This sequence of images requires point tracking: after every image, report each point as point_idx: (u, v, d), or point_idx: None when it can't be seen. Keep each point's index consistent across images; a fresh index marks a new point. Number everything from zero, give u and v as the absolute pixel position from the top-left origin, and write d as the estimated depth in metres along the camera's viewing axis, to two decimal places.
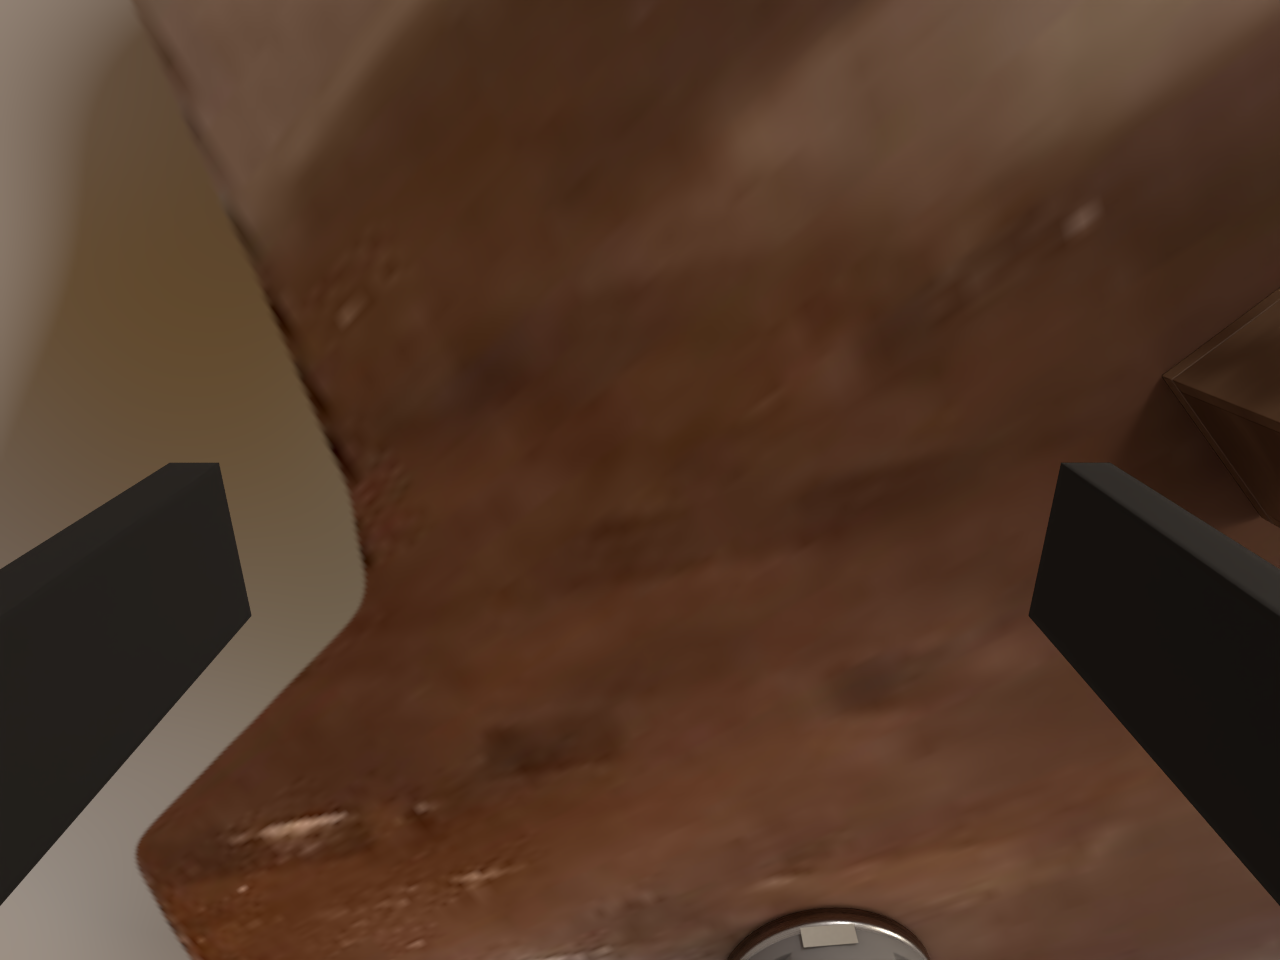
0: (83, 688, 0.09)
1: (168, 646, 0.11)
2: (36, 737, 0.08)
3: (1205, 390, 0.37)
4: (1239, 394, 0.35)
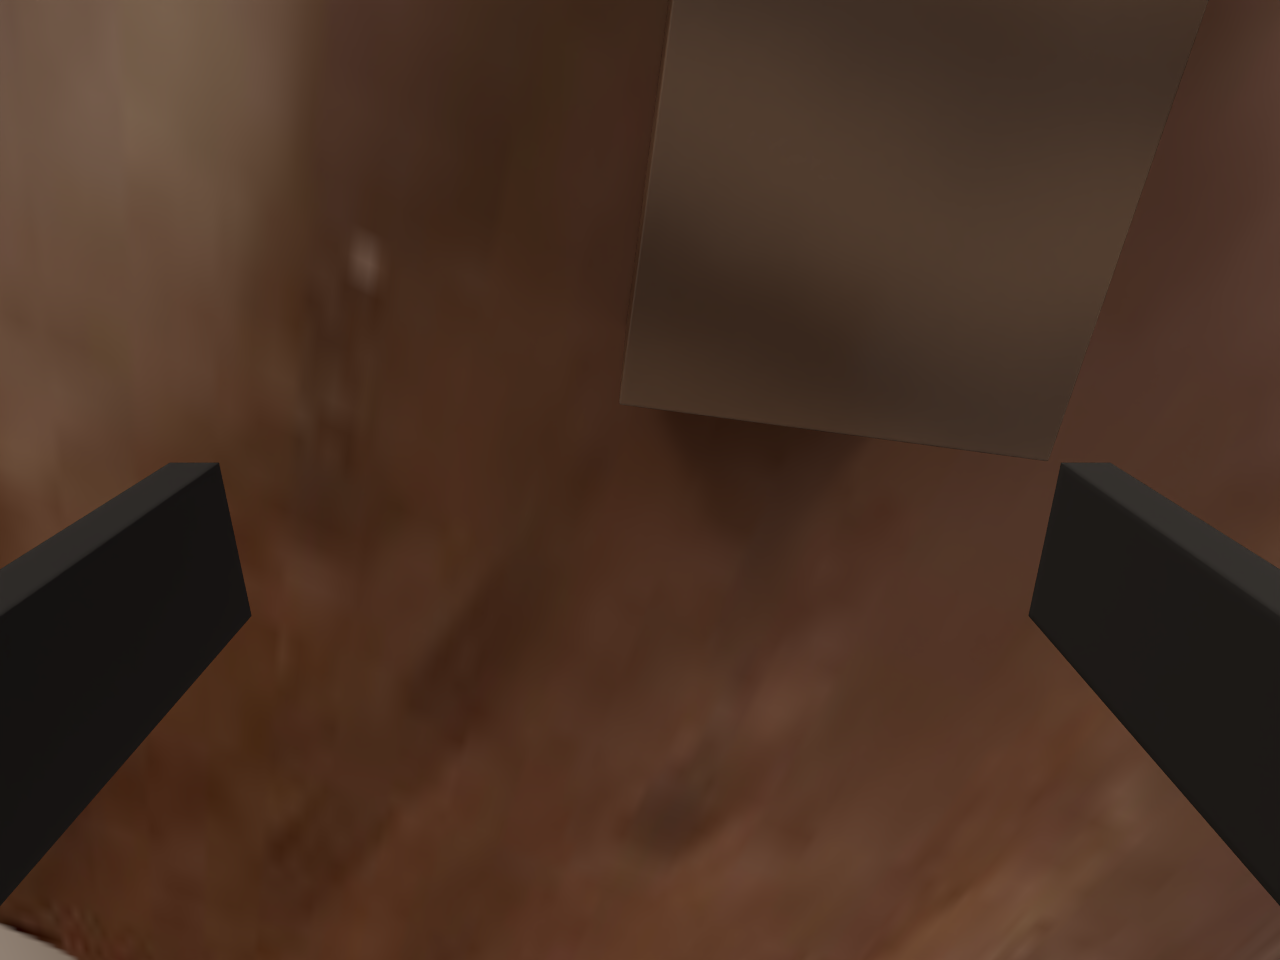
0: (83, 688, 0.09)
1: (168, 646, 0.11)
2: (35, 737, 0.08)
3: (624, 344, 0.25)
4: None
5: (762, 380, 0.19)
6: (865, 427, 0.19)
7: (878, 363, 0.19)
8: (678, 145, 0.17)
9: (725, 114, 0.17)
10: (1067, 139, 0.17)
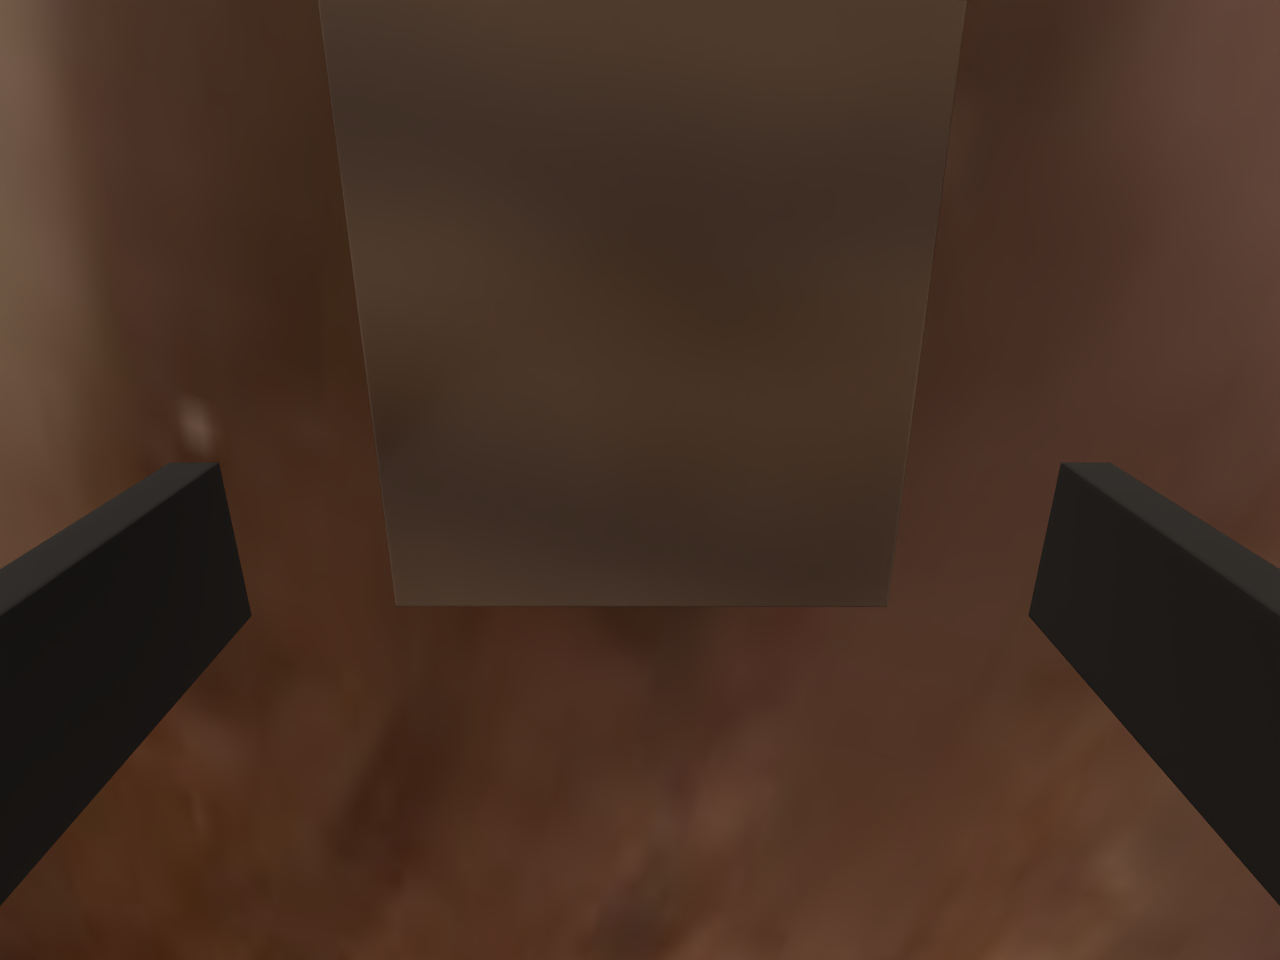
0: (83, 688, 0.09)
1: (168, 646, 0.11)
2: (36, 737, 0.08)
3: None
4: None
5: (545, 563, 0.17)
6: (672, 597, 0.17)
7: (669, 530, 0.17)
8: (388, 338, 0.15)
9: (431, 299, 0.15)
10: (824, 271, 0.15)
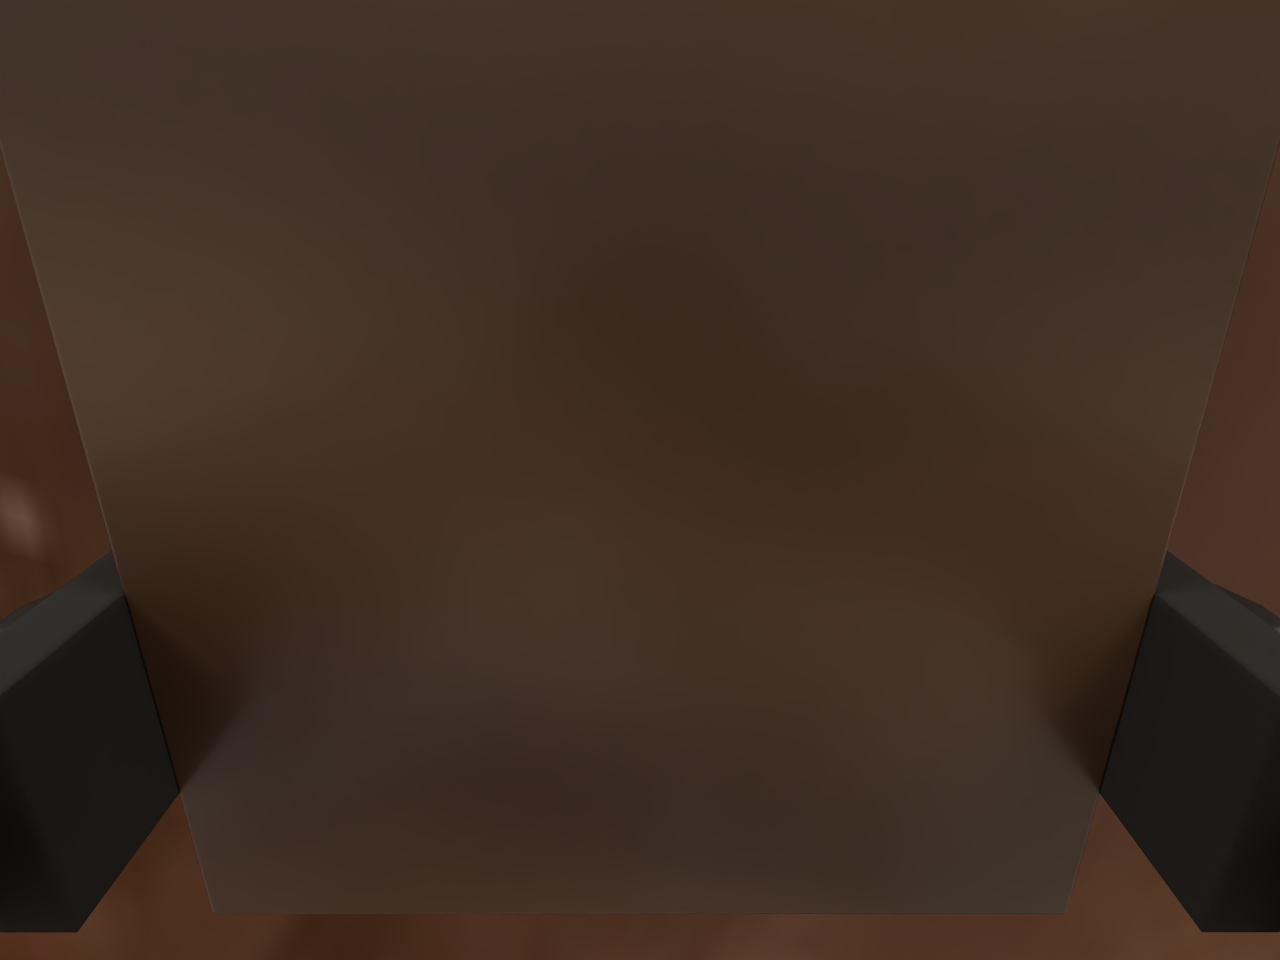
0: None
1: None
2: None
3: None
4: None
5: (469, 851, 0.10)
6: (692, 901, 0.10)
7: (689, 801, 0.09)
8: (145, 480, 0.08)
9: (222, 408, 0.08)
10: (1007, 354, 0.07)
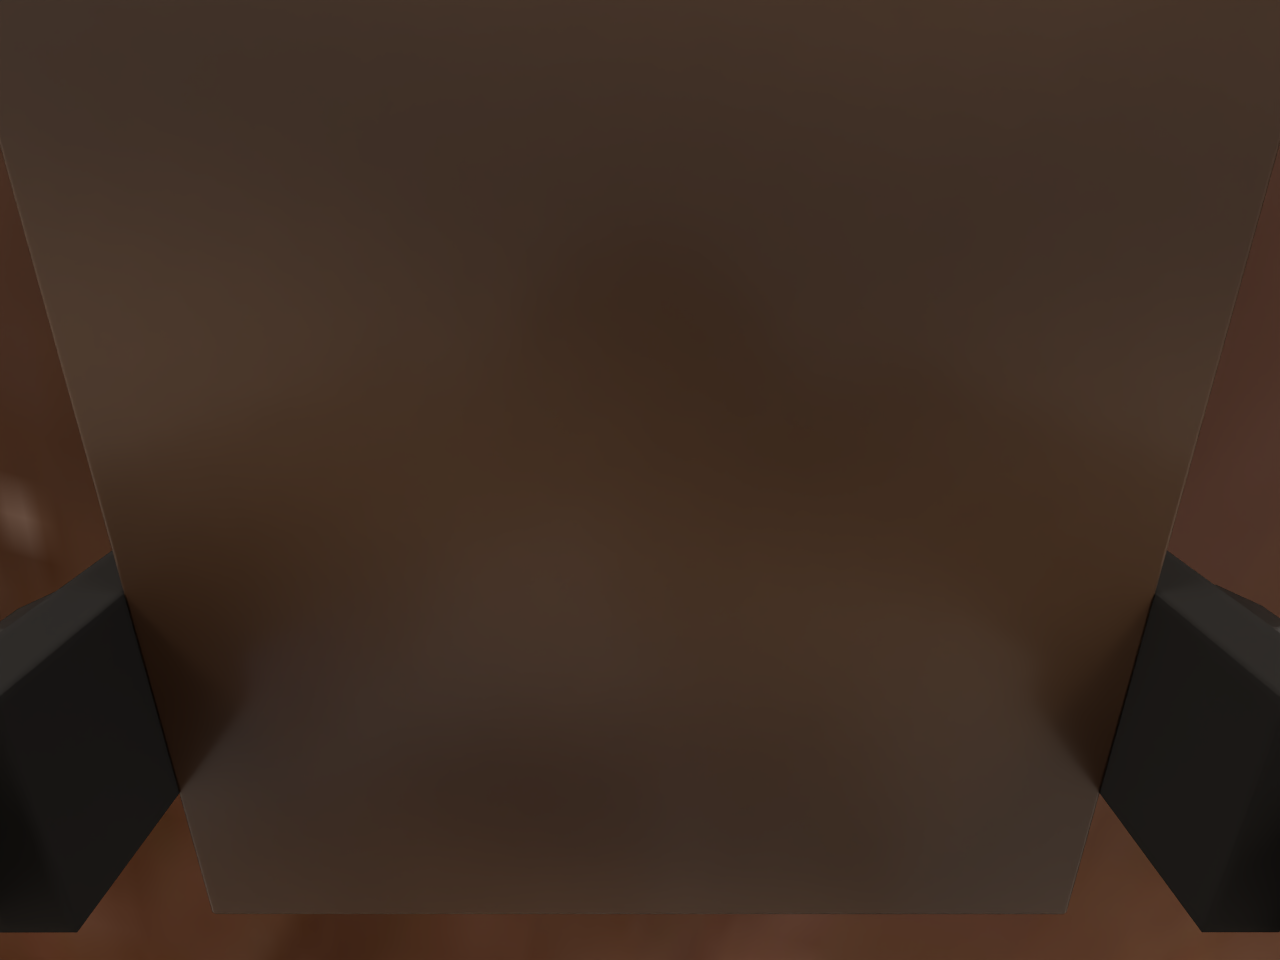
0: None
1: None
2: None
3: None
4: None
5: (469, 851, 0.10)
6: (692, 902, 0.10)
7: (689, 802, 0.09)
8: (145, 480, 0.08)
9: (222, 408, 0.08)
10: (1007, 355, 0.07)
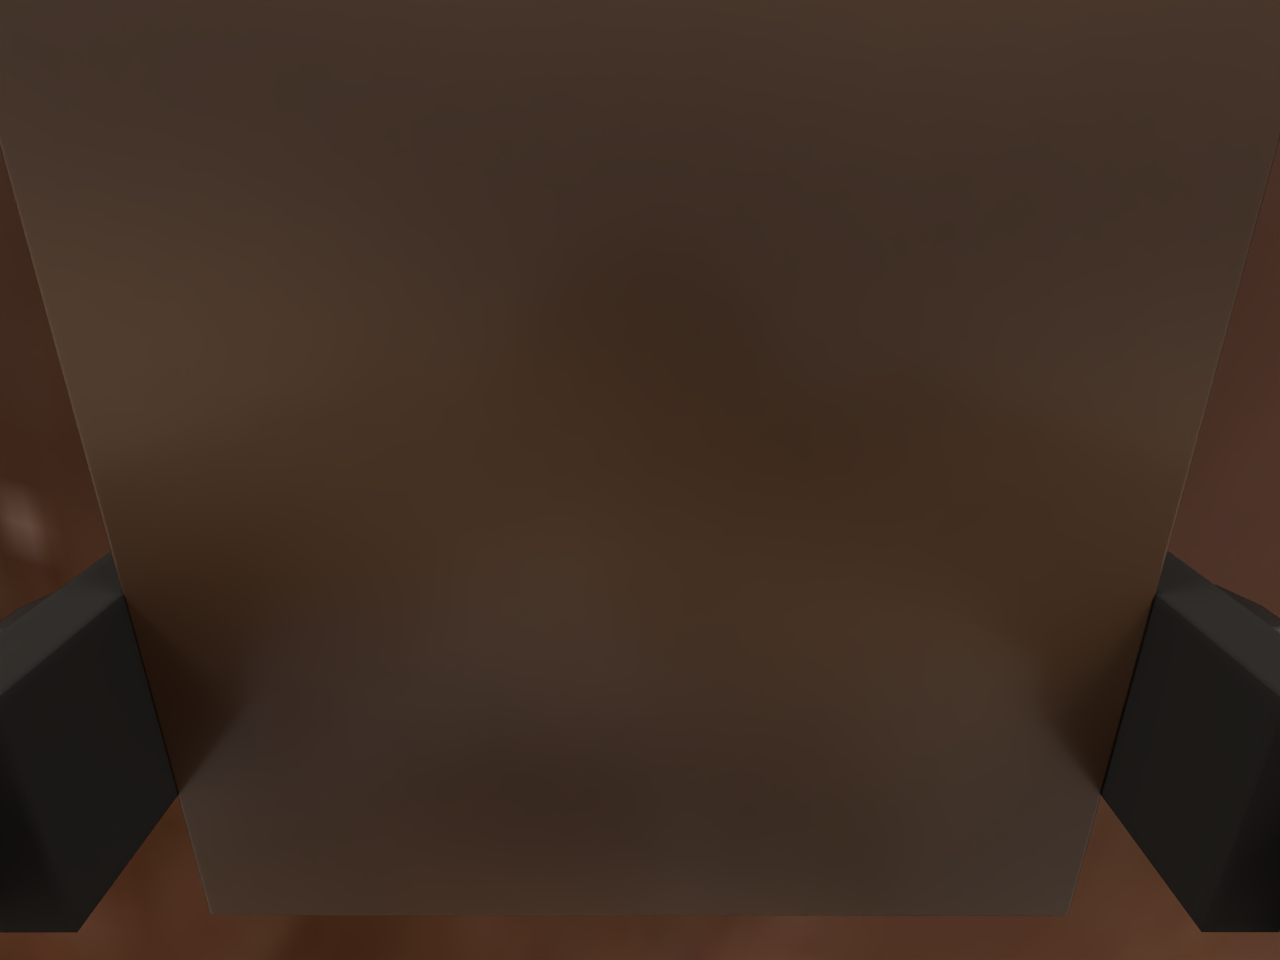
0: None
1: None
2: None
3: None
4: None
5: (467, 852, 0.10)
6: (692, 902, 0.10)
7: (689, 802, 0.09)
8: (143, 478, 0.08)
9: (221, 406, 0.08)
10: (1007, 352, 0.07)
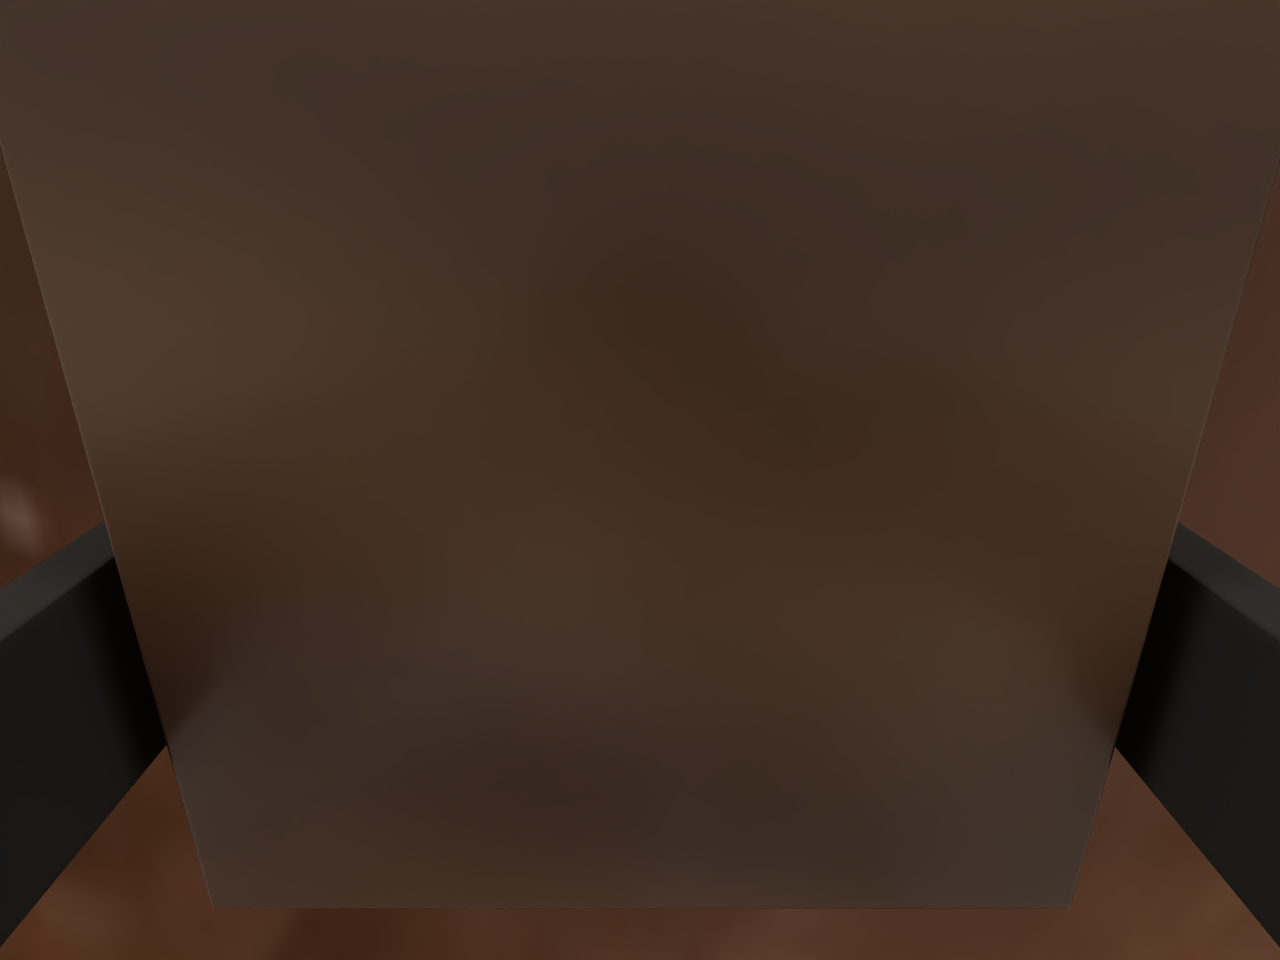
0: (127, 674, 0.09)
1: None
2: (85, 720, 0.09)
3: None
4: None
5: (469, 845, 0.10)
6: (694, 895, 0.10)
7: (691, 795, 0.09)
8: (143, 470, 0.08)
9: (220, 398, 0.07)
10: (1013, 344, 0.07)
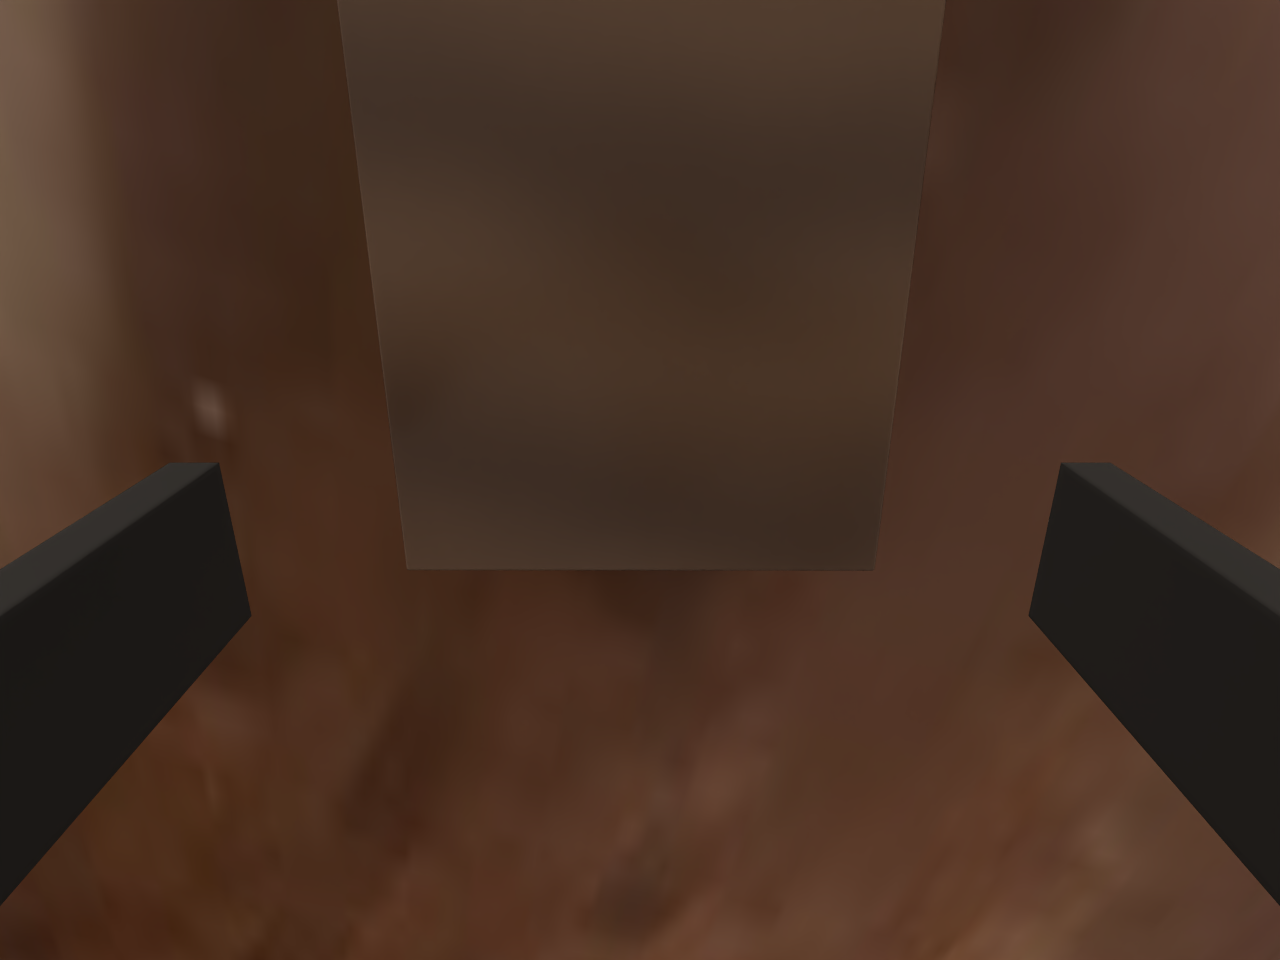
0: (84, 689, 0.09)
1: (168, 646, 0.11)
2: (36, 737, 0.08)
3: None
4: None
5: (549, 529, 0.18)
6: (669, 561, 0.18)
7: (667, 497, 0.18)
8: (401, 312, 0.16)
9: (442, 275, 0.16)
10: (813, 248, 0.16)
